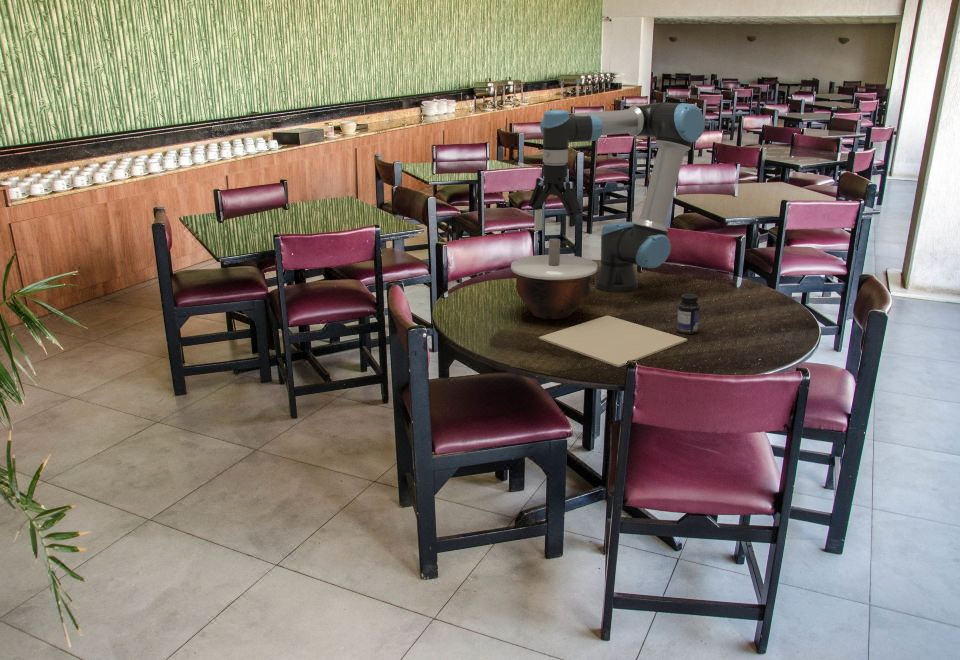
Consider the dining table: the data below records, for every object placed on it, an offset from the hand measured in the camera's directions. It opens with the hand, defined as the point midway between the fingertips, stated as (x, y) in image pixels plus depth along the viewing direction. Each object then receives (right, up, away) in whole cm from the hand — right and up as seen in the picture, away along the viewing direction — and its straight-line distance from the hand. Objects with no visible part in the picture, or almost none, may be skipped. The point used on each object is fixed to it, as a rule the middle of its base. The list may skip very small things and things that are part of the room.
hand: (553, 233), depth 236 cm
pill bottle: (+39, -30, -9) cm, 50 cm away
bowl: (+1, -25, +9) cm, 26 cm away
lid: (0, -10, +4) cm, 11 cm away
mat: (+16, -33, -15) cm, 39 cm away
